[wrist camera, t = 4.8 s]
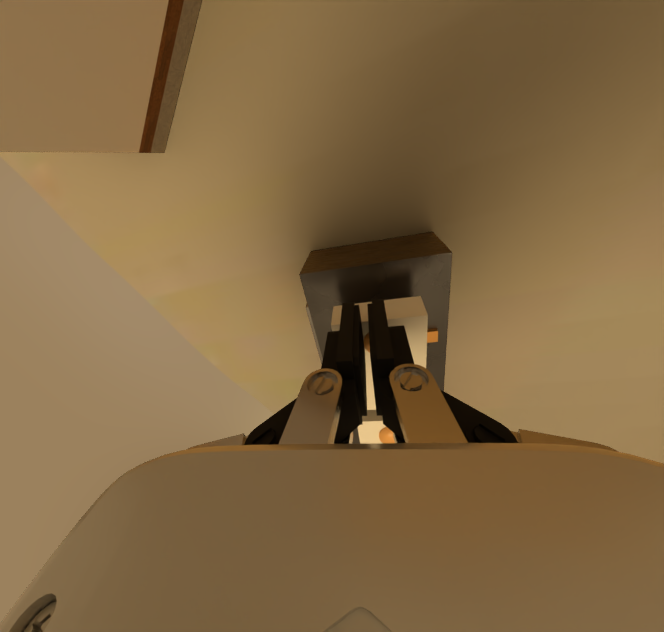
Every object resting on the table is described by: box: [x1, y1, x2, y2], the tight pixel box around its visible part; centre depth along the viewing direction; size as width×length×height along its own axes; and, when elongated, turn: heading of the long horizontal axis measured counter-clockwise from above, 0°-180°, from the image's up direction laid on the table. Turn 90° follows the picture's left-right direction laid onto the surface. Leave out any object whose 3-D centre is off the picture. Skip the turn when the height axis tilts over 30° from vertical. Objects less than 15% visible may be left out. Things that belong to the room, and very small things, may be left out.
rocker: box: [331, 296, 428, 410], centre depth 14 cm, size 7×4×2 cm, turn 11°
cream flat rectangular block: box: [358, 410, 395, 444], centre depth 19 cm, size 7×4×2 cm, turn 11°
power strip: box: [299, 232, 452, 444], centre depth 22 cm, size 28×8×4 cm, turn 11°
